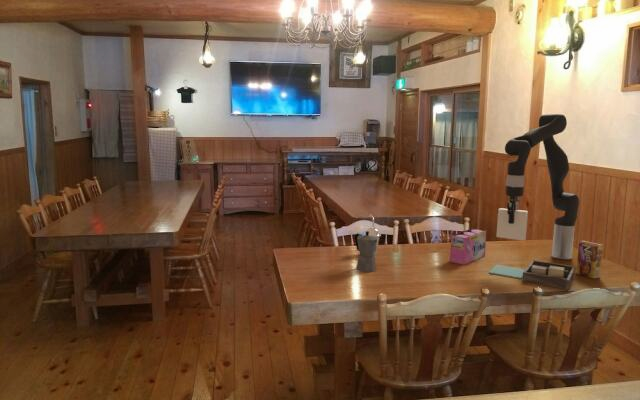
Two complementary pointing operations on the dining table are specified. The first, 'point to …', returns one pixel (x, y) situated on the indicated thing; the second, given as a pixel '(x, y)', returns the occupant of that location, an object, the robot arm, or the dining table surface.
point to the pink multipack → (467, 246)
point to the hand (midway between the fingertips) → (512, 222)
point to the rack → (547, 279)
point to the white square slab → (515, 229)
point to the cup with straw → (374, 234)
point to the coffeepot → (366, 252)
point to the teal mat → (507, 271)
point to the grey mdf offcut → (539, 270)
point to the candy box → (589, 259)
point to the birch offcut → (556, 271)
